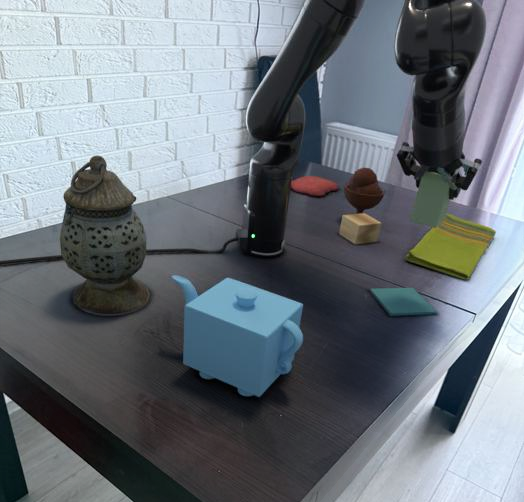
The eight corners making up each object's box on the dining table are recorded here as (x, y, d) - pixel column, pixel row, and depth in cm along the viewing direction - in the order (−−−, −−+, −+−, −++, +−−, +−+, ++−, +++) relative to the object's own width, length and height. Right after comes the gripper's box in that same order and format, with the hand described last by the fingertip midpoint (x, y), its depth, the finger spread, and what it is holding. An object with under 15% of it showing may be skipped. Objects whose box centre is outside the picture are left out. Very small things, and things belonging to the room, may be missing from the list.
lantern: (150, 316, 88) (146, 171, 74) (63, 318, 85) (42, 166, 71) (148, 279, 100) (145, 146, 85) (72, 279, 96) (55, 141, 82)
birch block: (355, 244, 126) (359, 225, 123) (338, 233, 131) (342, 215, 128) (377, 241, 129) (381, 223, 126) (360, 231, 134) (364, 213, 131)
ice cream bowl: (380, 232, 134) (394, 175, 126) (339, 228, 134) (350, 170, 126) (374, 218, 143) (387, 164, 135) (335, 214, 143) (345, 159, 134)
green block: (409, 220, 93) (423, 170, 88) (418, 214, 97) (431, 165, 92) (435, 228, 91) (451, 177, 86) (443, 221, 95) (459, 172, 90)
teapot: (307, 374, 79) (323, 297, 71) (275, 414, 71) (288, 331, 63) (192, 328, 87) (194, 253, 79) (150, 358, 78) (148, 278, 71)
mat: (390, 316, 98) (391, 313, 97) (369, 291, 106) (370, 288, 105) (435, 314, 100) (436, 311, 100) (412, 290, 108) (413, 287, 108)
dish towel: (494, 237, 141) (498, 226, 139) (468, 282, 114) (473, 269, 113) (439, 222, 146) (443, 211, 145) (403, 261, 120) (406, 249, 118)
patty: (317, 199, 152) (318, 192, 151) (279, 187, 158) (280, 181, 157) (344, 188, 165) (345, 182, 164) (308, 177, 171) (309, 171, 169)
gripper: (496, 117, 75) (485, 183, 90) (404, 99, 80) (409, 164, 96) (475, 160, 74) (468, 219, 89) (383, 139, 79) (392, 198, 95)
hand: (437, 191), depth 92 cm, fingers closed on green block, 5 cm apart
